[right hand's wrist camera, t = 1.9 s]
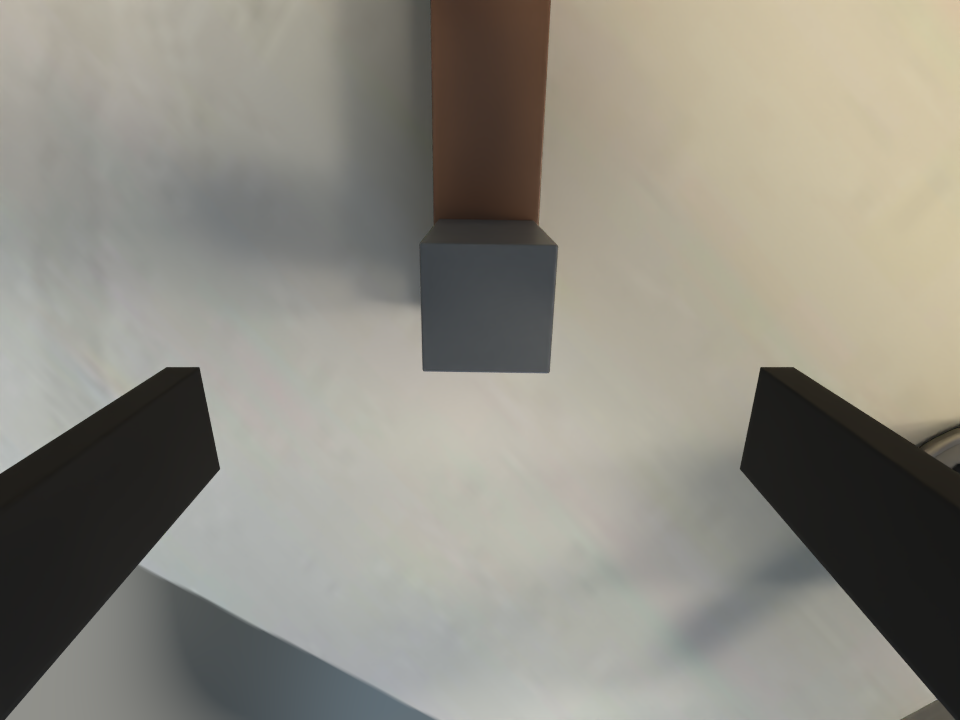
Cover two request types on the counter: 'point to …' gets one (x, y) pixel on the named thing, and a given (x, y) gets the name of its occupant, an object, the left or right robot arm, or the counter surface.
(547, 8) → the walnut rail
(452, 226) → the grey block
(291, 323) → the counter surface
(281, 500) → the counter surface
